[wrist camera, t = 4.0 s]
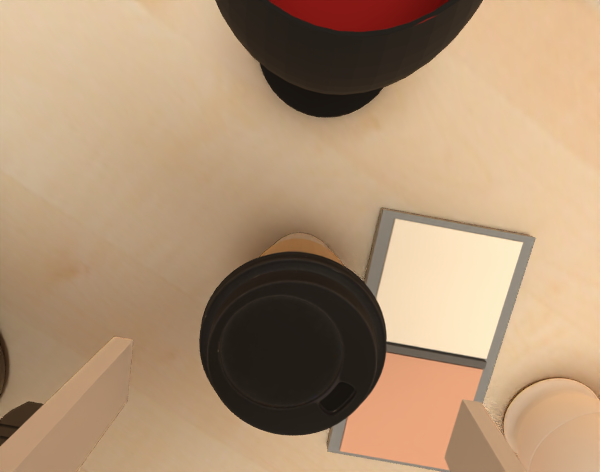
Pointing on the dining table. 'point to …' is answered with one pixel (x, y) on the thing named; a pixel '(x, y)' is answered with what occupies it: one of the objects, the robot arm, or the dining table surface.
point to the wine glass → (342, 45)
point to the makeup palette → (432, 332)
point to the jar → (555, 427)
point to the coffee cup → (293, 339)
